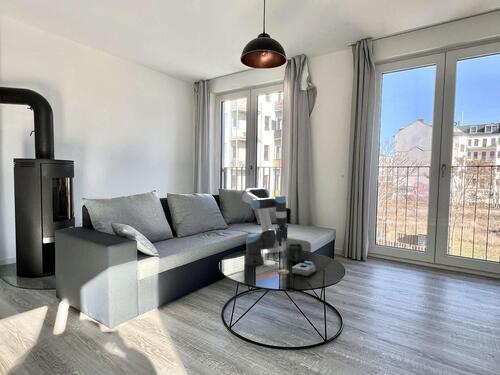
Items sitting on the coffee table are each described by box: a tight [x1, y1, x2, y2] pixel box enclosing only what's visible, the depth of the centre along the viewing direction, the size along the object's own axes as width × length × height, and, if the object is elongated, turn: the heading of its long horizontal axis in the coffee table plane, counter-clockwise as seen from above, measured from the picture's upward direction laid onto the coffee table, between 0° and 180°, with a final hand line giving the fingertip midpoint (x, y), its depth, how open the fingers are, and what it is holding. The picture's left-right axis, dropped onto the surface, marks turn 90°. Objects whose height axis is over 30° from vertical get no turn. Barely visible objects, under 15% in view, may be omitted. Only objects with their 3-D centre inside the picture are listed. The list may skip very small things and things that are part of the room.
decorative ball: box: [266, 231, 280, 254], centre depth 258 cm, size 20×17×20 cm
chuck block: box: [291, 260, 316, 277], centre depth 207 cm, size 12×15×5 cm
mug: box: [285, 243, 303, 262], centre depth 235 cm, size 11×15×12 cm
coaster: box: [277, 269, 290, 275], centre depth 207 cm, size 8×8×1 cm
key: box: [279, 238, 288, 258], centre depth 206 cm, size 3×6×13 cm, turn 52°
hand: (282, 249), depth 206 cm, fingers closed on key, 3 cm apart
